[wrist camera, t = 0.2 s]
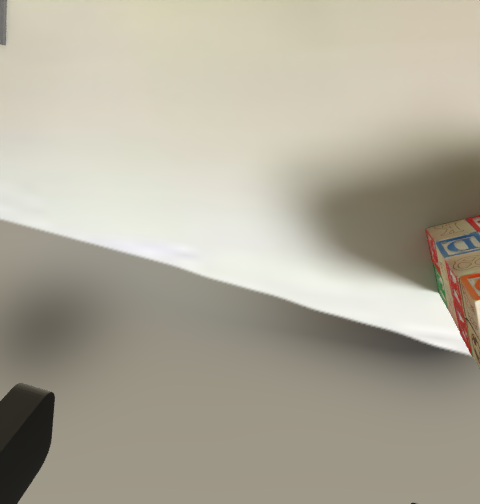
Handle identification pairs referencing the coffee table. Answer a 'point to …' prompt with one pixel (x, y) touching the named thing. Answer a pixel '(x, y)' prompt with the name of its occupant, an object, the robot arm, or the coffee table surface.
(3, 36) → the mat
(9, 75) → the coffee table surface
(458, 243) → the stack of blocks
